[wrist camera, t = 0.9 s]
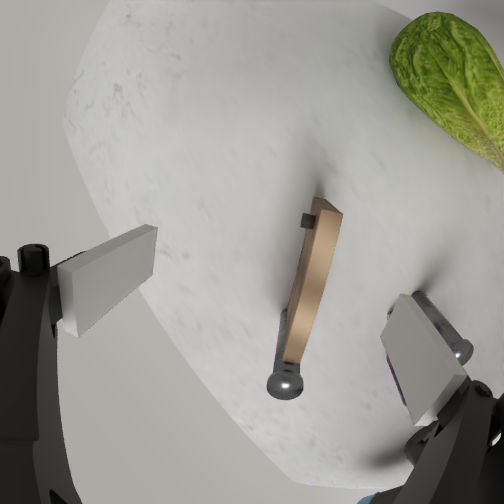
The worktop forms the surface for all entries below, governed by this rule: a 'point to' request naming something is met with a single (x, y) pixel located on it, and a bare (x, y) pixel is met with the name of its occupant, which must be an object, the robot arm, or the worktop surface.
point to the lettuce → (453, 80)
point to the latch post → (445, 328)
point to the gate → (310, 275)
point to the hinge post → (284, 370)
